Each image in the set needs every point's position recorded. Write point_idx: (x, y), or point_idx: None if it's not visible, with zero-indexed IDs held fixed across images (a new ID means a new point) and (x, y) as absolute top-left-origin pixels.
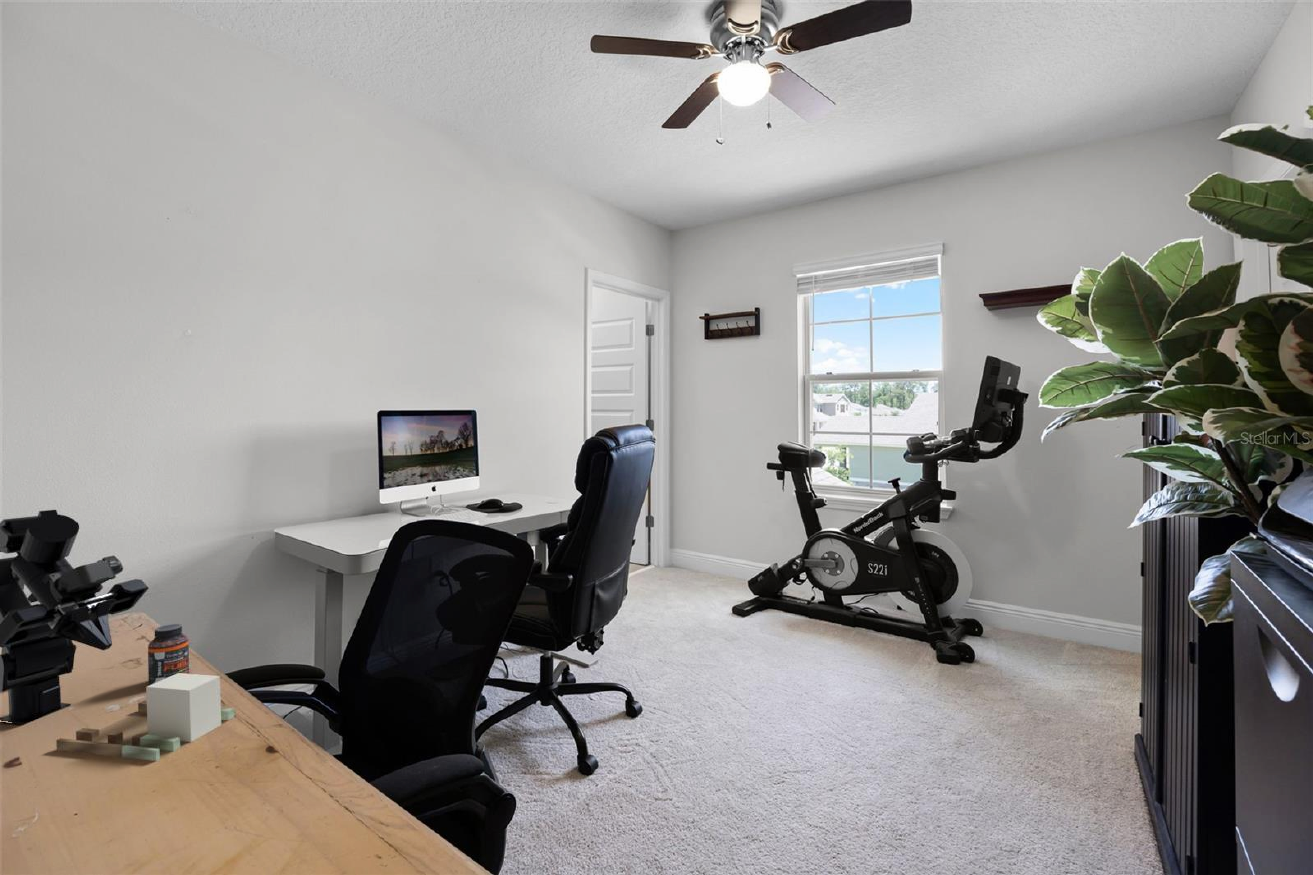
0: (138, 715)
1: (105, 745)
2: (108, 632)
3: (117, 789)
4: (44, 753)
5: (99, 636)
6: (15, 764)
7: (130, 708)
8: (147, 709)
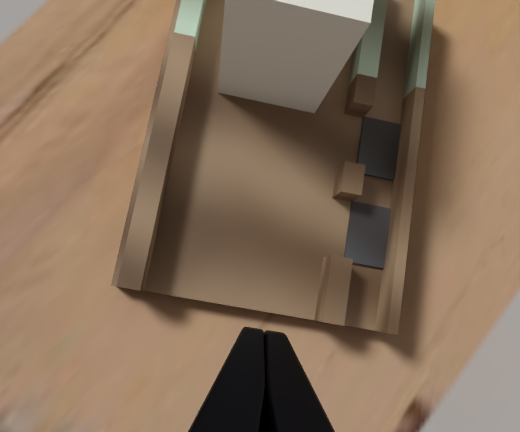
0: (171, 266)
1: (418, 145)
2: (218, 409)
3: (494, 35)
4: (360, 392)
5: (310, 412)
6: (416, 418)
7: (66, 392)
8: (340, 69)
